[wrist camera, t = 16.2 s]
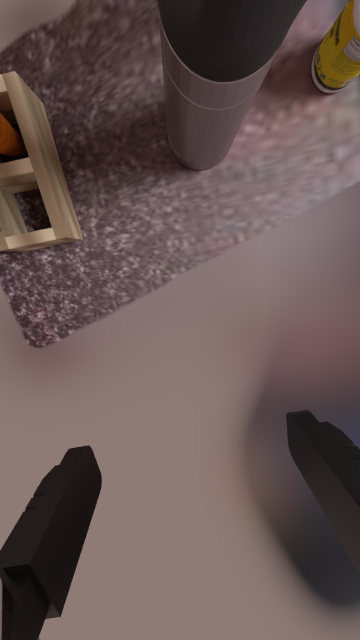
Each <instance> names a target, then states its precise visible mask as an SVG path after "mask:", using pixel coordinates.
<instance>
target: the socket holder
mask: <svg viewBox="0 0 360 640" xmlns="http://www.w3.org/2000/svg"><path fill="white" fill-rule="evenodd" d="M0 113H1V114H2V115H3V116H4V118H5V119H6V120H7V121H8V122H9V124H10V125H12V124H17V123H18V125H19V128H20V131H21V134H22V137H23V140H24V143H25V146H26V150H27V153H28V156H29V157H28V158H24V159H19V160H15V161H10V162H6V163H3V162H2V159H1V156H0V251H16V252H26V251H31V250H36V249H41V248H46V247H51V246H56V245H60V244H65V243H70V242H75V241H80V240H83V237H82V234H81V230H80V227H79V224H78V220H77V217H76V213H75V210H74V207H73V203H72V200H71V197H70V193H69V190H68V186H67V183H66V180H65V176H64V173H63V169H62V166H61V163H60V159H59V156H58V153H57V149H56V146H55V142H54V139H53V136H52V132H51V129H50V125H49V122H48V119H47V115H46V112H45V109H44V105H43V103H42V102H41V101H40V99H39V98H38V97H37V96H36V95H35V94H34V93H33V92H32V90H31V89H30V88H29V87H28V86H27V85H26V84H25V82H24V81H23V80H22V79H21V78H20V77H19V76H18V75H17V73H16V72H15V71H13V72H9V73H5V74H0ZM34 189H40V192H41V195H42V198H43V201H44V204H45V207H46V210H47V213H48V216H49V220H50V223H51V226H52V228H48V229H43V230H38V231H33V232H28V231H27V229H26V226H25V223H24V220H23V218H22V215H21V212H20V209H19V206H18V204H17V201H16V198H15V195H14V194H15V193H20V192H25V191H29V190H34Z"/></svg>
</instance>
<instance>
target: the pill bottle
mask: <svg viewBox="0 0 360 640" xmlns="http://www.w3.org/2000/svg"><path fill="white" fill-rule="evenodd" d="M311 71H312V77H313V80H314V83H315V85H316V86H317V87H318V88H319V89H320V90H321V91H323V92H326V93H335V92H338V91H340V90H342V89H343V88H345V87H346V86H347V85H348V84H349V83H351V82H352V81H353V80H354V79H355V78H356V77H357V76H358V75H359V74H360V0H349V2H348V3H347V5H346V6H345V8H344V9H343V11H342V12H341V14H340V15H339V17H338V18H337V19H336V21H335V22H334V24H333V25H332V27H331V28H330V30H329V31H328V33H327V34H326V35H325V37H324V38H323V40H322V41H321V43H320V45H319V46H318V48H317V50H316V52H315V54H314V57H313V61H312V69H311Z"/></svg>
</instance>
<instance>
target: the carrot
mask: <svg viewBox="0 0 360 640" xmlns="http://www.w3.org/2000/svg"><path fill="white" fill-rule="evenodd" d="M25 153H26V149H25V146H24V143H23V141H22V139H21V137H20V136H19V134H18V133H17V132H16V131H15V130H14V128H13V127H12V126H11V125H10V124H9V122H8V121H7V120H6V119H5V118H4V116H3V115H2V114H1V113H0V154H2V155H8V156H22V155H24V154H25Z"/></svg>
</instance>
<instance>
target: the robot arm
mask: <svg viewBox="0 0 360 640" xmlns="http://www.w3.org/2000/svg"><path fill="white" fill-rule="evenodd" d="M306 1H307V0H158V10H159V23H160V37H161V50H162V64H163V78H164V92H165V106H166V121H167V135H168V141H169V145H170V148H171V150H172V152H173V154H174V156H175V157H176V158H177V159H178V161H179V162H180V163H182V164H183V165H184V166H186V167H188V168H191V169H194V170H205V169H209V168H211V167H213V166H215V165H216V164H218V163H219V162H220V161H221V160H222V159H223V158H224V156H225V155H226V153H227V152H228V150H229V148H230V146H231V144H232V142H233V140H234V138H235V136H236V134H237V132H238V130H239V128H240V126H241V124H242V122H243V120H244V118H245V116H246V114H247V112H248V110H249V108H250V106H251V104H252V102H253V100H254V98H255V96H256V94H257V92H258V90H259V88H260V86H261V84H262V82H263V80H264V78H265V76H266V74H267V72H268V70H269V68H270V66H271V64H272V62H273V60H274V58H275V56H276V54H277V52H278V50H279V48H280V46H281V44H282V42H283V40H284V38H285V36H286V34H287V32H288V30H289V28H290V26H291V24H292V23H293V21H294V19H295V18H296V16H297V15H298V13H299V12H300V10H301V8H302V7H303V5H304V4H305V2H306ZM286 418H287V436H288V446H289V450H290V453H291V456H292V458H293V460H294V462H295V464H296V465H297V467H298V469H299V471H300V472H301V474H302V476H303V477H304V479H305V481H306V483H307V484H308V486H309V488H310V490H311V491H312V493H313V495H314V496H315V498H316V500H317V502H318V503H319V505H320V507H321V509H322V510H323V512H324V514H325V515H326V517H327V519H328V521H329V522H330V524H331V526H332V528H333V529H334V531H335V533H336V534H337V536H338V538H339V539H340V541H341V543H342V545H343V546H344V548H345V550H346V552H347V553H348V555H349V557H350V559H351V560H352V562H353V564H354V565H355V567H356V569H357V571H358V572H359V574H360V449H359V448H358V447H356V446H355V444H354V443H353V442H352V441H351V440H350V439H349V438H348V437H347V436H346V435H345V433H344V432H343V431H341V430H340V429H338V428H336V427H335V426H333V425H332V424H330V423H328V422H321V423H320V422H319V421H318V420H317V419H316V418H315V417H314V416H313V415H312V413H311V412H310V411H309V410H301V411H295V412H289V413H287V415H286ZM101 484H102V477H101V472H100V469H99V467H98V464H97V461H96V459H95V456H94V453H93V451H92V448H91V447H90V446H83V447H76V448H71V449H69V450H68V451H67V452H66V454H65V456H64V458H63V459H62V461H61V463H60V465H57V466H55V467H54V468H53V469H52V470H51V471H50V472H49V473H48V474H47V475H46V476H45V477H44V478H43V479H42V481H41V483H40V485H39V486H38V488H37V490H36V491H35V493H34V497H33V498H31V500H30V502H29V503H28V505H27V507H26V510H25V511H24V512H23V513H22V515H21V517H20V518H19V520H18V522H17V523H16V525H15V527H14V529H13V530H12V532H11V534H10V535H9V537H8V539H7V540H6V542H5V544H4V545H3V547H2V549H1V550H0V640H40V638H39V635H40V632H41V629H42V626H43V623H44V621H45V619H48V618H55V617H60V616H61V614H62V610H63V607H64V604H65V601H66V598H67V595H68V592H69V589H70V585H71V582H72V579H73V576H74V572H75V569H76V566H77V563H78V560H79V557H80V554H81V551H82V548H83V544H84V541H85V538H86V535H87V532H88V528H89V525H90V522H91V519H92V516H93V513H94V510H95V506H96V503H97V500H98V497H99V494H100V490H101Z"/></svg>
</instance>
